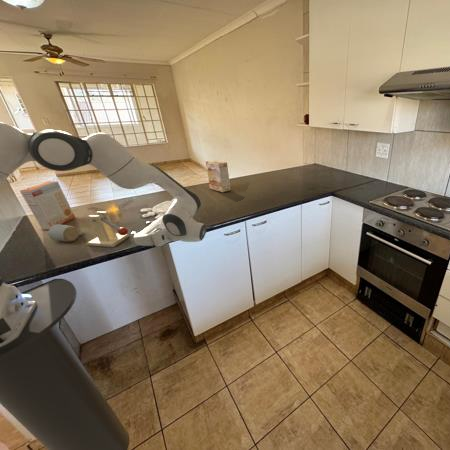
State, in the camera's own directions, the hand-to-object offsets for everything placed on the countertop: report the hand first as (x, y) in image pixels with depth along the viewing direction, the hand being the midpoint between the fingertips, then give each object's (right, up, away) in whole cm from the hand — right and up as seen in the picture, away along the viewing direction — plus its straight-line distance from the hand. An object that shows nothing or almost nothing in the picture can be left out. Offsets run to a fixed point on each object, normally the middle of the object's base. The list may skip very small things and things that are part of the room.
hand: (139, 228), depth 107 cm
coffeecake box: (+13, +27, +67) cm, 73 cm away
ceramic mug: (-37, -5, +7) cm, 38 cm away
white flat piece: (-8, +11, +38) cm, 40 cm away
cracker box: (-56, +2, +21) cm, 60 cm away
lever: (-14, +1, +2) cm, 14 cm away
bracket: (-18, -6, +5) cm, 19 cm away
